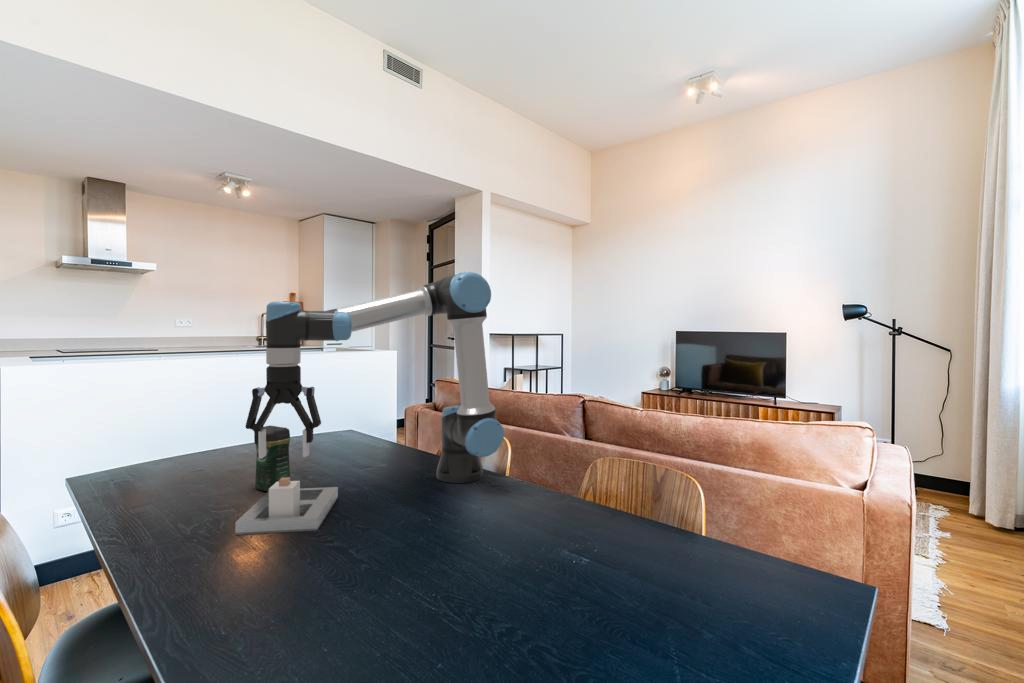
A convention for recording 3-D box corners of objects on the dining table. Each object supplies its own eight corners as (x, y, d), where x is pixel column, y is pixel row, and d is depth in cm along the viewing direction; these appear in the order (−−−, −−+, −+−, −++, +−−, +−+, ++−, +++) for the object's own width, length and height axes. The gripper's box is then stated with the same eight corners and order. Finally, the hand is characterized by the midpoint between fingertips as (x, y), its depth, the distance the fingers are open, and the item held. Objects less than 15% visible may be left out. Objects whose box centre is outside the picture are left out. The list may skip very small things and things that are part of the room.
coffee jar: (295, 486, 141) (295, 425, 141) (271, 494, 134) (271, 430, 134) (274, 481, 146) (274, 422, 145) (250, 489, 139) (250, 427, 138)
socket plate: (337, 497, 132) (337, 486, 132) (317, 530, 110) (317, 518, 110) (270, 500, 129) (270, 489, 129) (235, 535, 108) (235, 522, 108)
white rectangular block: (300, 515, 118) (299, 474, 117) (293, 525, 112) (292, 481, 112) (277, 517, 117) (276, 475, 117) (268, 526, 111) (268, 482, 111)
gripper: (334, 363, 119) (334, 450, 119) (241, 364, 116) (242, 453, 116) (327, 366, 111) (327, 459, 112) (228, 366, 108) (228, 462, 109)
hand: (284, 456), depth 114 cm, fingers open, 9 cm apart
